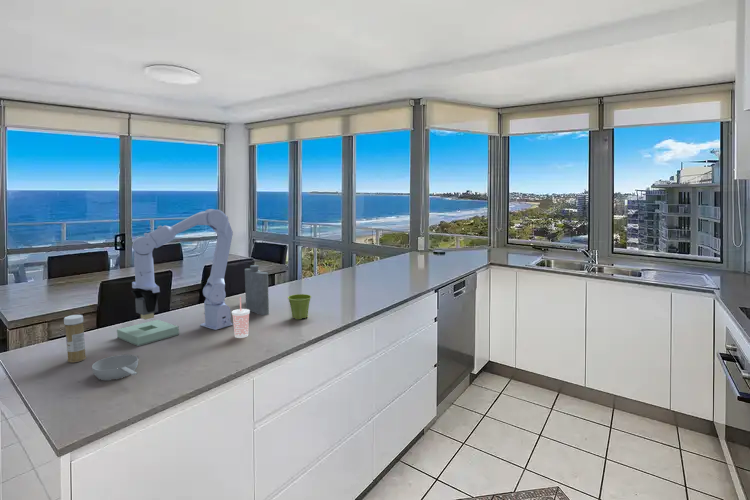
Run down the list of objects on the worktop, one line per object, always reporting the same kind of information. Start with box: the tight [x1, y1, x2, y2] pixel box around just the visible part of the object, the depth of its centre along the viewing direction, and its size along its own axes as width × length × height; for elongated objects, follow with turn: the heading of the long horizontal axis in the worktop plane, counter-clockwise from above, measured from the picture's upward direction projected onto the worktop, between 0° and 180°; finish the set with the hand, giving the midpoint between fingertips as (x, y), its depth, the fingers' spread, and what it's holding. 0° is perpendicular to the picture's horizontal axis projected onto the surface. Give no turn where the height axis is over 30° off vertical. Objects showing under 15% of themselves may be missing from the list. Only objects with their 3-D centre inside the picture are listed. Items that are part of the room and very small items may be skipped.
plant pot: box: [287, 293, 312, 320], centre depth 166 cm, size 9×9×9 cm
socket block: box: [116, 319, 180, 347], centre depth 142 cm, size 14×14×3 cm
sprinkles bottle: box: [63, 314, 87, 363], centre depth 120 cm, size 5×5×14 cm
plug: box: [134, 297, 159, 320], centre depth 141 cm, size 5×5×7 cm
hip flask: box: [244, 264, 270, 316], centre depth 174 cm, size 16×4×20 cm, turn 46°
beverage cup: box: [231, 296, 251, 339], centre depth 143 cm, size 6×6×14 cm
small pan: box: [91, 354, 139, 381], centre depth 110 cm, size 11×18×4 cm, turn 52°
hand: (146, 310), depth 141 cm, fingers closed on plug, 5 cm apart
